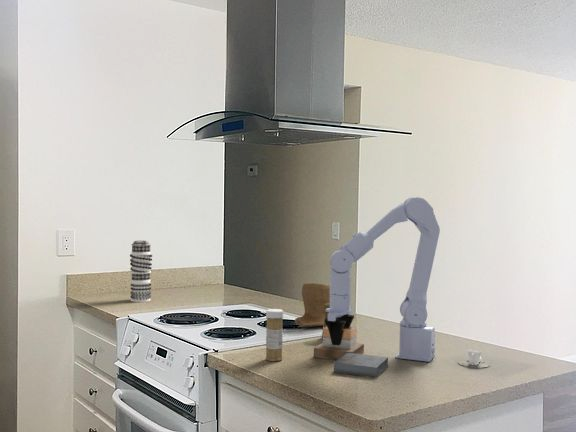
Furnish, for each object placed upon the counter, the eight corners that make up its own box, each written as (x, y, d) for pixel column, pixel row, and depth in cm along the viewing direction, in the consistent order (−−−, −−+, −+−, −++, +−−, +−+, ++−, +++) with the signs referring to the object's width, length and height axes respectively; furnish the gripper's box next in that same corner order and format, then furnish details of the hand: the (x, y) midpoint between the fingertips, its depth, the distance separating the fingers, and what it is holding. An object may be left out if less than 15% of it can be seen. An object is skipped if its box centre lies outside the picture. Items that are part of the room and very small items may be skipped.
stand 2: (387, 367, 162) (388, 357, 162) (376, 377, 152) (376, 367, 152) (347, 362, 166) (347, 352, 166) (333, 372, 156) (333, 362, 156)
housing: (355, 345, 175) (356, 327, 174) (350, 349, 170) (350, 331, 170) (328, 342, 178) (329, 325, 178) (322, 346, 173) (322, 328, 173)
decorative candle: (144, 302, 257) (145, 241, 256) (125, 301, 259) (125, 241, 259) (156, 299, 265) (156, 240, 265) (136, 298, 268) (137, 239, 267)
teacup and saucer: (470, 360, 172) (470, 345, 172) (496, 366, 166) (497, 350, 166) (452, 365, 166) (452, 350, 166) (478, 371, 160) (479, 355, 160)
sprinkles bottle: (273, 356, 171) (274, 307, 170) (286, 359, 168) (286, 309, 167) (261, 359, 167) (262, 309, 167) (274, 362, 164) (274, 311, 164)
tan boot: (323, 320, 223) (323, 279, 223) (341, 327, 213) (342, 283, 212) (286, 324, 216) (286, 281, 215) (303, 331, 205) (304, 285, 205)
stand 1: (363, 352, 177) (364, 343, 177) (352, 361, 167) (352, 352, 167) (327, 348, 181) (327, 340, 181) (313, 357, 171) (313, 348, 171)
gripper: (335, 289, 182) (334, 336, 182) (317, 296, 168) (316, 346, 169) (358, 291, 179) (357, 338, 179) (342, 298, 166) (341, 349, 166)
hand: (339, 342), depth 174 cm, fingers open, 5 cm apart
